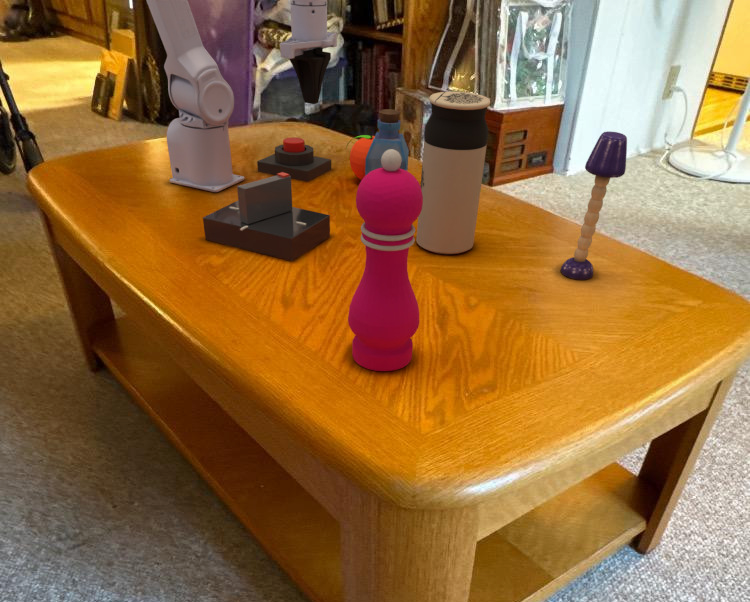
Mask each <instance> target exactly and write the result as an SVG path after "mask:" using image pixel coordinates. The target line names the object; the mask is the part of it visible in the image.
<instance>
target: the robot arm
mask: <svg viewBox="0 0 750 602" xmlns="http://www.w3.org/2000/svg"><path fill="white" fill-rule="evenodd" d="M146 4H147V6H148V9H149V11H150V14H151V16H152V20H153V22H154V24H155V26H156V29H157V32H158V34H159V38H160V39H161V42H162V45H163V47H164V50H165V53H166V59H165V61H164V64H163V69H164V71H165V74H166V77H167V87H168V88H167V90H168V91H167V92H168V96H169V99H170V102H171V104H172V105H173V106H174V107H175V109H177V110H178V116H179V117H177V118H174V119H172V120H171V121H170V123H169V125H168V127H167V132H166V145H167V150H168V151H167V152H168V158H169V162H170V163H169V164H170V168H171V169H170V170H171V176H172V177H171V178H169V183H171V184H175V185H179V186H184V187H189V188H193V189H198V190H203V191H207V192H212V193H219V192H221V191H223V190H226V189H227V188H230V187H232V186H234V185H236V184H238V183H240V182H243V181H245V176H243V175H238V174H234V172H233V162H232V153H231V142H230V132H229V124H230V123H229V119H230V118H231V117H232V115H233V112H234V108H235V95H234V92H233V89H232V87H231V85H230V84H229V83H228V81H226V80H225V79H224V78H223V75H222V74H221V71H220V68H219V66H218V64H217V62H216V61H215V60H214V58H213V57H212V55H211V54H210V53H209V52H208V51H207V49H206V48H205V46H204V44H203V41H202V39H201V35H200V32H199V30H198V27H197V24H196V21H195V18H194V14H193V12H192V9H191V6H190V3H189V1H188V0H146ZM290 27H291V36H290V37H289V38H288V39H286V40H284V41H282V42H280V43H279V49H280V50H279V51H280V58H283V59H288V60H289V62H290V63H291V65H292V67H293V69H294V72H295V74H296V76H297V80H298V83H299V86H300V92H301V96H302V99H303V103H304V104H309V105H310V104H311V105H316V104H318V103H319V101H320V100H319V99H320V95H321V91H322V87H323V86H322V85H323V81H324V77H325V73H326V70H327V69H328V66H329V64H330V61H331V60H332V53H331V52H329V51H324V49H328V48H337V46H338V34H337V32H330V31H328V0H290Z"/></svg>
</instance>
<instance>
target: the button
mask: <svg viewBox="0 0 750 602" xmlns="http://www.w3.org/2000/svg"><path fill="white" fill-rule="evenodd" d="M305 143H306V142H305V139H304V138H301V137H291V136H290V137H285V138H283V140H282V145H283V149H284V151H286V152H296V153H297V152H303V151H305V145H306V144H305Z"/></svg>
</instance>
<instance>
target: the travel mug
mask: <svg viewBox="0 0 750 602" xmlns="http://www.w3.org/2000/svg"><path fill="white" fill-rule="evenodd" d="M428 100H429V102H430V105H431V114H430V116H429V118H428V120H427V122H426V123H425V126H424V138H423V150H422V163H421V174H420V175H421V176H420V186H421V190H422V194H423V205H422V210H421V213H420V215H419V216H418V218H417V227H416V241H415V242H416V243H417V244H418V246H420V247H421V248H423V249H424V250H426V251H428V252H432V253H434V254H440V255H458V254H461V253H465V252H467V251H469V250H471V249H472V248H473V247H474V242H475V235H476V227H477V220H478V214H479V213H478V212H479V206H480V198H481V190H482V184H483V176H484V168H485V161H486V154H487V145H488V140H489V139H488V138H489V131H490V130H489V127H488V124H487V121H486V114H487V111H488V108H489V106H490V105H491V99H490V98H489V97H487V96H485V95H482V94H478V93H474V92H467V91H440V92H435V93H432V94H431V95H430V96H429V98H428Z"/></svg>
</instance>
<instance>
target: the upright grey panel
mask: <svg viewBox="0 0 750 602" xmlns="http://www.w3.org/2000/svg"><path fill="white" fill-rule="evenodd" d="M236 188H237V189H236V191H237V201H239V212H240V221H241V222H243V223H246V224H251V223H254V222H257V221H260V220H264V219H267V218H270V217H273V216H276V215H279V214H283V213H286V212H289V211H292V207H293V191H292V190H293V188H292V178H291V176H289V174H287V173H284V172H281V173H278V174H277V175H272V176H269V177H266V178H262V179H258V180H254V181H251V182H247V183H244V184H240V185H236Z"/></svg>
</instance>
